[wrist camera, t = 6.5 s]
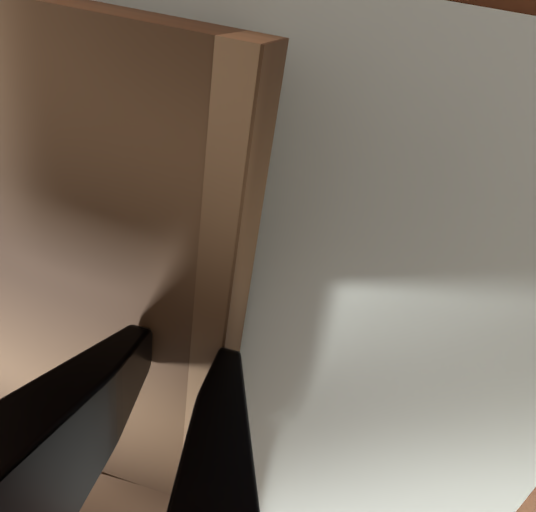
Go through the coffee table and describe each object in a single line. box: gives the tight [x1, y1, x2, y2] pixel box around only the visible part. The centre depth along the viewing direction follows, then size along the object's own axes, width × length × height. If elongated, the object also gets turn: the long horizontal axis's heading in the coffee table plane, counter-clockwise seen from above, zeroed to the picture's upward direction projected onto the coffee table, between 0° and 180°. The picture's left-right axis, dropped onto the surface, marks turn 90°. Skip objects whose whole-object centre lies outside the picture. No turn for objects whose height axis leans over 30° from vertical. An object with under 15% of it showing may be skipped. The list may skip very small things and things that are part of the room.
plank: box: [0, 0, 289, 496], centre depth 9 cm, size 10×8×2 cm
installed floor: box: [93, 0, 536, 512], centre depth 13 cm, size 23×23×2 cm
